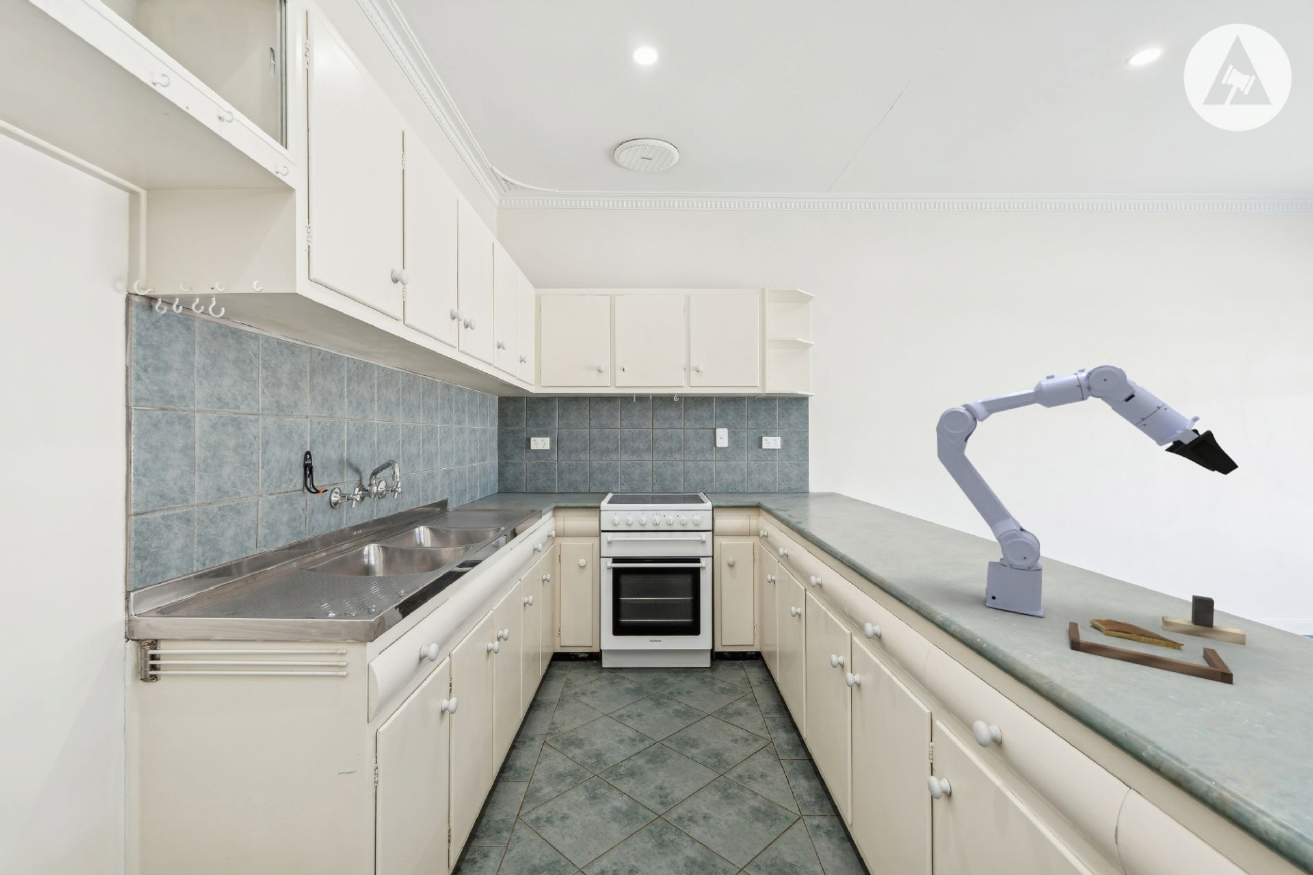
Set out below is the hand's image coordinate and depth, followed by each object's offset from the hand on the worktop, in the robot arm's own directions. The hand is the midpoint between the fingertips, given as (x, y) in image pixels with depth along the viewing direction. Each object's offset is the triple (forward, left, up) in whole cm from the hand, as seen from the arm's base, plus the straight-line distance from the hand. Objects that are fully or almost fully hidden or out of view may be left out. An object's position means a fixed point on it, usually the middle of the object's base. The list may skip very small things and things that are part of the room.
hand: (1225, 469), depth 88 cm
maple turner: (-1, +5, -31) cm, 31 cm away
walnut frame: (-11, -13, -31) cm, 35 cm away
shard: (-11, -3, -31) cm, 33 cm away
